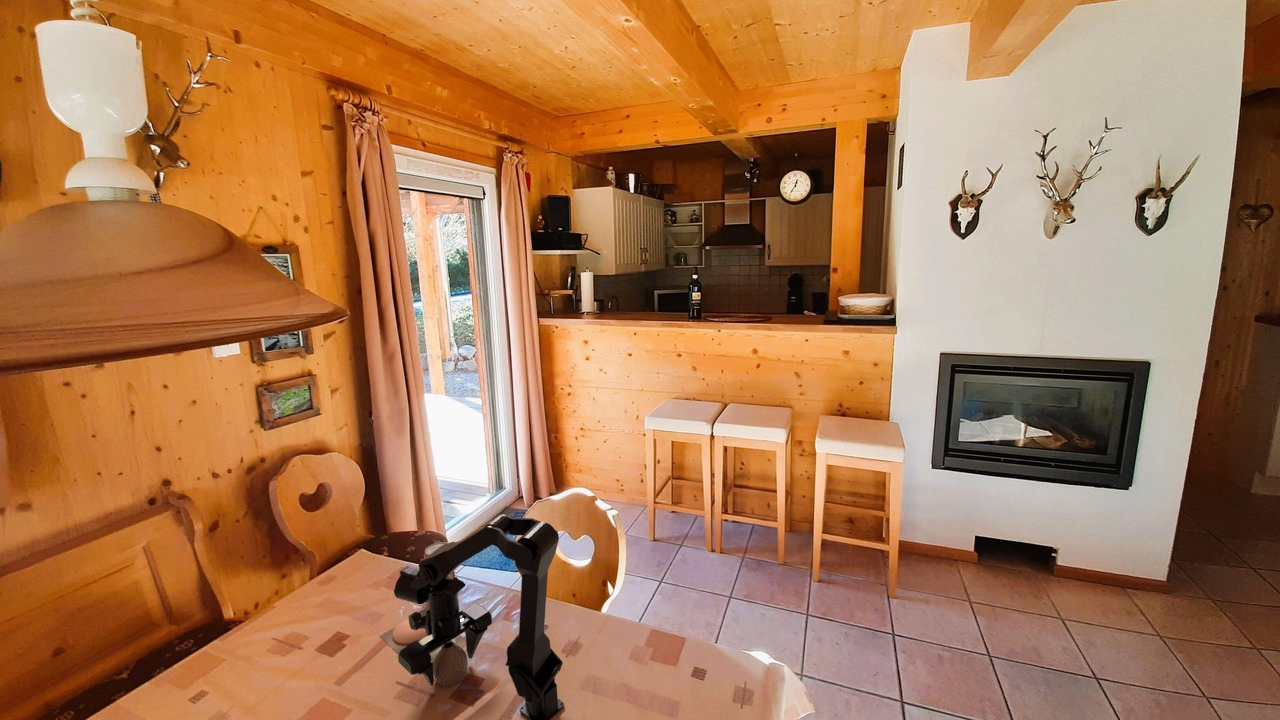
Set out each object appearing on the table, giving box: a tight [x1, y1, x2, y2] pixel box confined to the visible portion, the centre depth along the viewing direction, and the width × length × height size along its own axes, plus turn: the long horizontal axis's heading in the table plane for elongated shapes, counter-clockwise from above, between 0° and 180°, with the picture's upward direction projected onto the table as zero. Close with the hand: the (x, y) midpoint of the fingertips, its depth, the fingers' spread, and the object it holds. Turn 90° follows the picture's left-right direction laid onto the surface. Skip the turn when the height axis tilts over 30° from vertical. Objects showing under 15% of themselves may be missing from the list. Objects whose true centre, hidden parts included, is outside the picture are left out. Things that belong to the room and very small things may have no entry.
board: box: [378, 626, 466, 676], centre depth 122 cm, size 19×12×1 cm, turn 51°
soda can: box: [423, 541, 456, 578], centre depth 140 cm, size 7×7×13 cm
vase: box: [433, 641, 468, 687], centre depth 111 cm, size 7×7×9 cm
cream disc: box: [419, 635, 456, 663], centre depth 119 cm, size 9×9×1 cm
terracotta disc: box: [393, 617, 428, 644], centre depth 125 cm, size 9×9×1 cm
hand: (451, 670), depth 111 cm, fingers open, 9 cm apart
